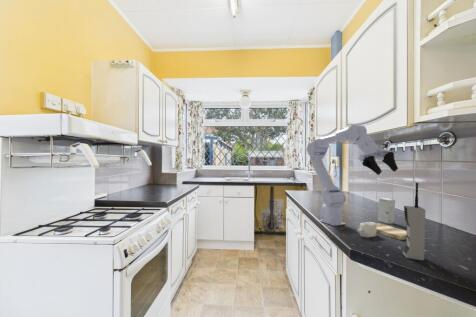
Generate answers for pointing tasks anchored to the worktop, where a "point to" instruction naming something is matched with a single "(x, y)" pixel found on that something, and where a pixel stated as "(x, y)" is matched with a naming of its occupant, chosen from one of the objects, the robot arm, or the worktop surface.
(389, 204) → the skincare box
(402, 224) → the worktop surface
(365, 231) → the capped bottle
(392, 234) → the birch board
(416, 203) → the vintage mobile phone
